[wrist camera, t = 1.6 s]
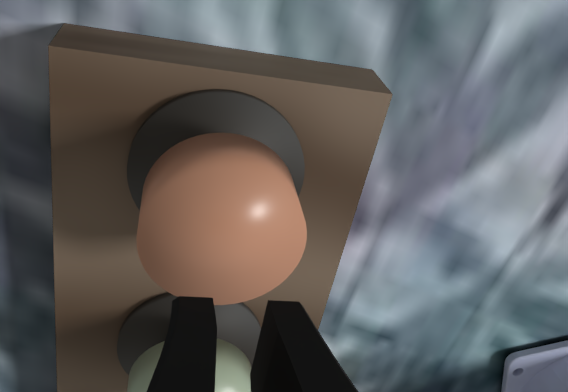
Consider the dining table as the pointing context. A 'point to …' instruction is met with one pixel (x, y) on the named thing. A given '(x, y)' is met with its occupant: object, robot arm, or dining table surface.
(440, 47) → the dining table surface
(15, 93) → the dining table surface
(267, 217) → the button terracotta
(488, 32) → the dining table surface
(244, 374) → the button sage
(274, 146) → the button panel
